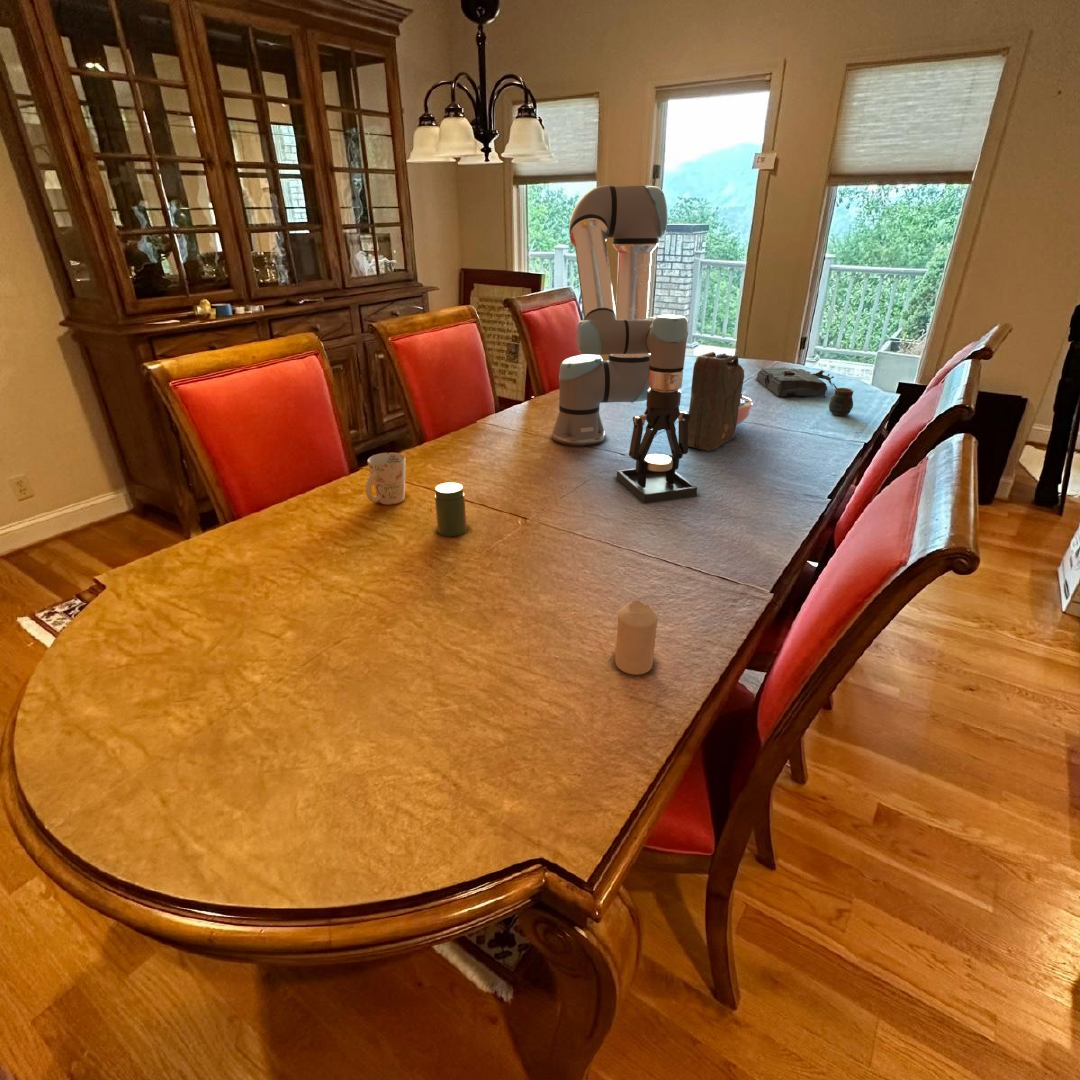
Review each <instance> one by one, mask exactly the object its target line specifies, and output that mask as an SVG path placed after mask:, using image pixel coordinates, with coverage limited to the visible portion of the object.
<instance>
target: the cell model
mask: <svg viewBox="0 0 1080 1080" xmlns="http://www.w3.org/2000/svg"><path fill="white" fill-rule="evenodd" d="M753 406H754V403H753V401H752V399H751V398H749V397H748V396H744V395H743V393H741V398H740V403H739V407H738V418H737V425H736V426H738V425H740V424H742V423H743V422H744V421H746V420H747V418H748V417H749V415H750V411H751V408H752V407H753Z"/></svg>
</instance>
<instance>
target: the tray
mask: <svg viewBox="0 0 1080 1080" xmlns="http://www.w3.org/2000/svg"><path fill="white" fill-rule="evenodd" d="M666 473H667V471H663V472H656V471H650V470H647V475H646V487H645V488H642V487H641V486H640V485H638V473H637V472H636V467H634V468H626V469H618V470H616V479H617V480H618V481H619V482H620V483H621V484H622V485H623V486H624V487H625V488H626V489H628V491H630V492H631V493H632V494H633V495H634V496H636V497H637V498H638V499H639V500H640V501H641V502H642V503H643V504H645V503H653V502H661V501H667V500H674V499H683V498H690V497H696V496H697V495H698V486H696V485H695V484H693V483H692V482H691V481H689V480H688V479H686V478H685V477H684V476H682V474H679V473H678V472H677V470H675V478H674V484H670V483H669V482H667V481H666Z"/></svg>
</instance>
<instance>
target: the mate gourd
mask: <svg viewBox="0 0 1080 1080" xmlns="http://www.w3.org/2000/svg"><path fill="white" fill-rule="evenodd" d="M831 383H832V385H833V387H834V388H835V389H834V392H833V395H832V396H831V397H830V399H829V401H828V402H829V403H828V410H829V412H830V413H831V414H832V415H834V416H840V417H845V416H848V414H850V413H851V411H852V410H853V407H854V399H853V395H854V391H855V390H853V389H852V388H848V387H837V386H836V385H835V383H834V382H831Z"/></svg>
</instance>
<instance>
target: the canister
mask: <svg viewBox="0 0 1080 1080" xmlns="http://www.w3.org/2000/svg"><path fill="white" fill-rule="evenodd" d="M691 379H692V380H691V387H690V388H691V389H690V401H689V406H688V407H689V410H688V413H689V414H690V415H691V417H690V420H689V423H688V448H692V449H698V450H702V451H706V452H707V451H708V452H712V451H714V450H716V449H718V448H719V447H721V445H723V444H724V443H727V442H729V441H730V440H732V439H733V438H734V437H735V436H736V432H737V431H736V430H737V426H738V425H737V418H738V407H739V403H740V398H741V394H742V392H743V386H744V380H745V370H744V369H743V366H742V365H740V364H739V356H738V355H737V354H735V355H730V354H729V355H728V354H727V353H720V354H717V355H716V352H714V351H710V352H708V353H705V354H702V355H698V356H697V357H696V359H695V362H694V364H693V370H692V378H691Z"/></svg>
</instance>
